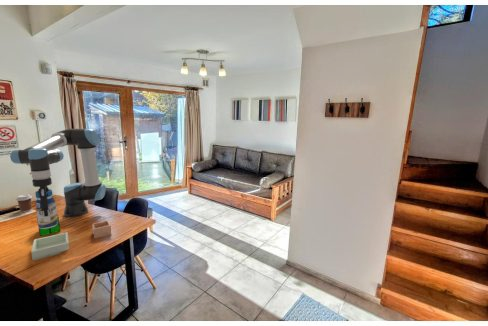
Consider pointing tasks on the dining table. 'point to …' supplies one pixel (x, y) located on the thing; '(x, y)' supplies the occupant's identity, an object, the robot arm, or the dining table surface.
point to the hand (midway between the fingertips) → (47, 218)
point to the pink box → (101, 229)
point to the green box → (50, 246)
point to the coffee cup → (24, 202)
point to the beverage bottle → (51, 210)
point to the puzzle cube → (49, 229)
